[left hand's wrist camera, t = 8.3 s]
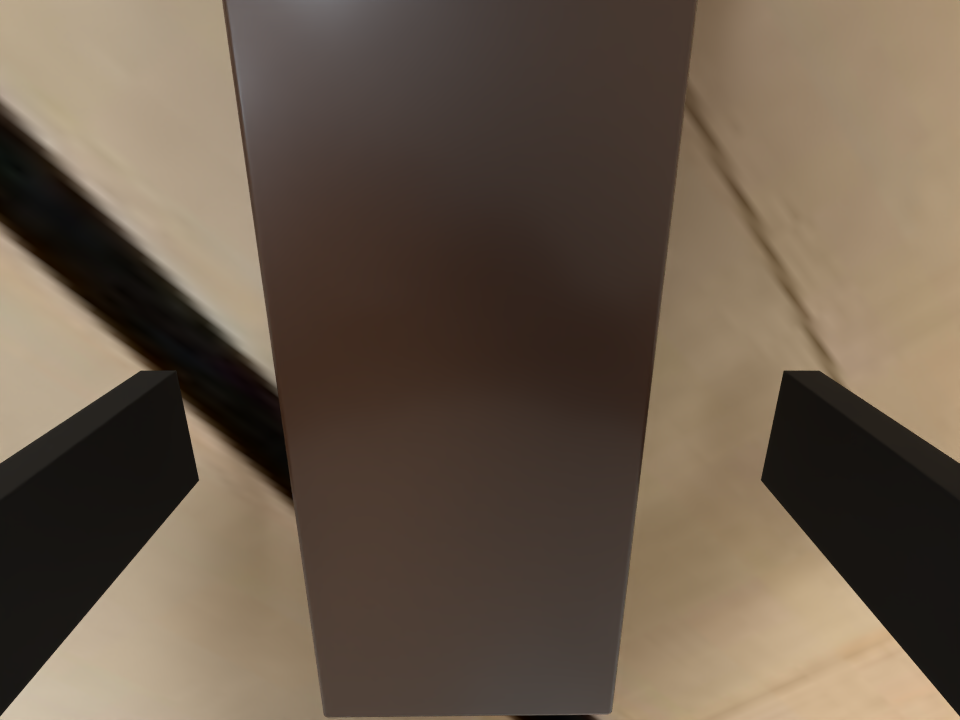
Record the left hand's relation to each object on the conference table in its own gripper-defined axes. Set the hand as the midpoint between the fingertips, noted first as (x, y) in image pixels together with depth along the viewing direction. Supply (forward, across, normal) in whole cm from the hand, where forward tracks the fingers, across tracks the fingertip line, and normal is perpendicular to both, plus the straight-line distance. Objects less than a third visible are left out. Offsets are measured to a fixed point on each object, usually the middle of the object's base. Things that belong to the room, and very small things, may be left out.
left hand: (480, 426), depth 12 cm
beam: (+4, 0, +10) cm, 10 cm away
